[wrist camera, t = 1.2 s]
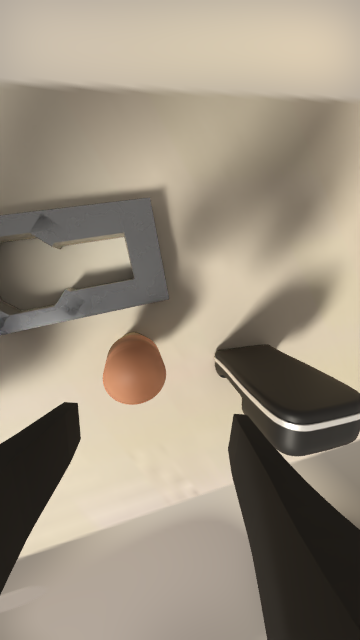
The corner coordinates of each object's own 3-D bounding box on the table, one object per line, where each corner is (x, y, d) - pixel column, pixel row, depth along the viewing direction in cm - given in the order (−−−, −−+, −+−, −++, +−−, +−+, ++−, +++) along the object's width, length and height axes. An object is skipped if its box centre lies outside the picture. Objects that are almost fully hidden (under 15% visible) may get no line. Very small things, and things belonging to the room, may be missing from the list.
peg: (116, 370, 21) (112, 411, 15) (105, 330, 20) (95, 356, 13) (158, 359, 21) (171, 394, 15) (149, 319, 20) (159, 340, 14)
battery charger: (211, 381, 24) (282, 475, 13) (211, 349, 23) (288, 420, 12) (266, 373, 25) (372, 450, 14) (268, 342, 24) (383, 400, 13)
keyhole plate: (-2, 331, 18) (-18, 339, 16) (-46, 229, 16) (-69, 223, 14) (165, 296, 20) (169, 299, 18) (147, 205, 18) (149, 197, 16)
